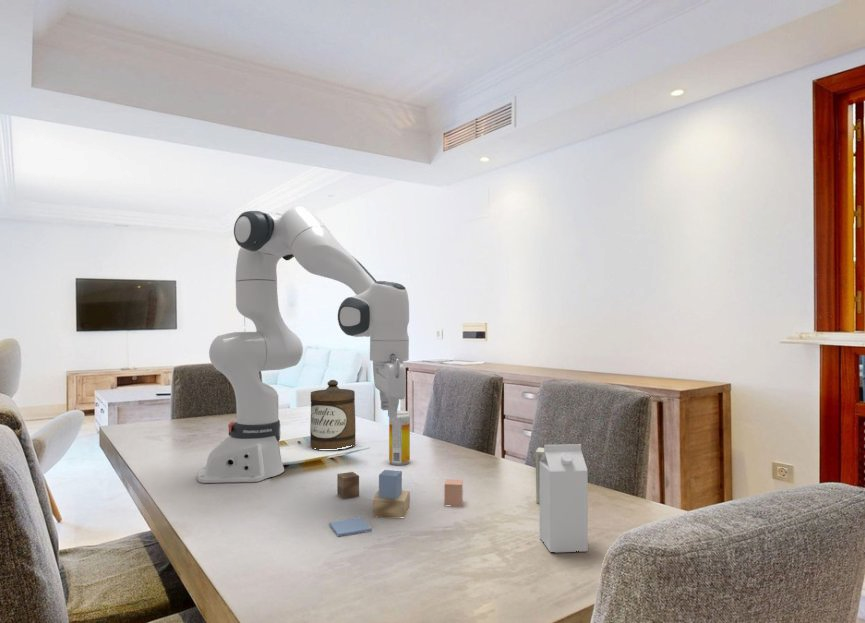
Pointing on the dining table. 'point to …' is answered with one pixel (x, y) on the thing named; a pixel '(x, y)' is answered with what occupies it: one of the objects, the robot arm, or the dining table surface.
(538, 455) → the skincare box
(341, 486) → the walnut cube
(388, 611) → the dining table surface
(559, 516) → the milk carton
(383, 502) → the oak base
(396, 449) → the beer can
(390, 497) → the blue cube
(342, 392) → the wooden container
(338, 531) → the tile
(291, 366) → the robot arm
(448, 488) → the terracotta cube
